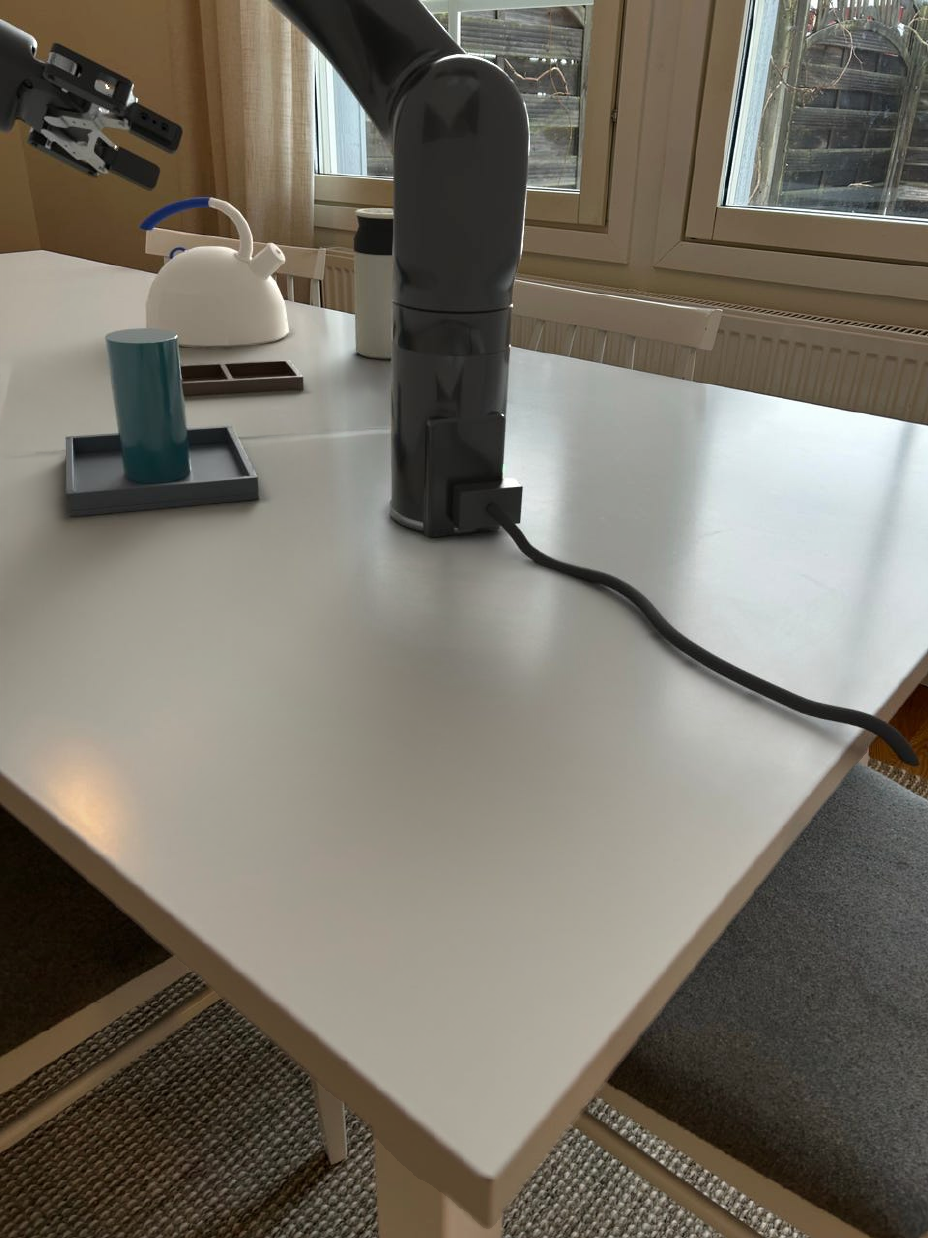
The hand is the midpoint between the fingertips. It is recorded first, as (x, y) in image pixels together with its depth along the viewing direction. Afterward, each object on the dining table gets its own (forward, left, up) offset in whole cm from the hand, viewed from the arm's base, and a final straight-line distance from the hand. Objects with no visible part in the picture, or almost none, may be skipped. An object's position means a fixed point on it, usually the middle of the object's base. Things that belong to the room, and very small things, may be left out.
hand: (167, 161), depth 80 cm
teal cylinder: (-7, +4, -25) cm, 26 cm away
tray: (-7, +4, -25) cm, 26 cm away
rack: (+22, -6, -25) cm, 34 cm away
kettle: (+52, -9, -25) cm, 59 cm away
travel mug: (+35, -29, -25) cm, 52 cm away
